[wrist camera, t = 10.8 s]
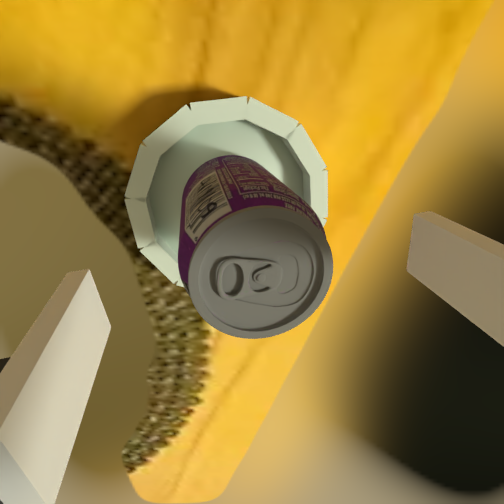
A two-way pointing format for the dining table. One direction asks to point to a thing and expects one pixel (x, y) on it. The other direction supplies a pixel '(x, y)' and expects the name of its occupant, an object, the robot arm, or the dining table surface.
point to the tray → (204, 149)
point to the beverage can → (250, 250)
